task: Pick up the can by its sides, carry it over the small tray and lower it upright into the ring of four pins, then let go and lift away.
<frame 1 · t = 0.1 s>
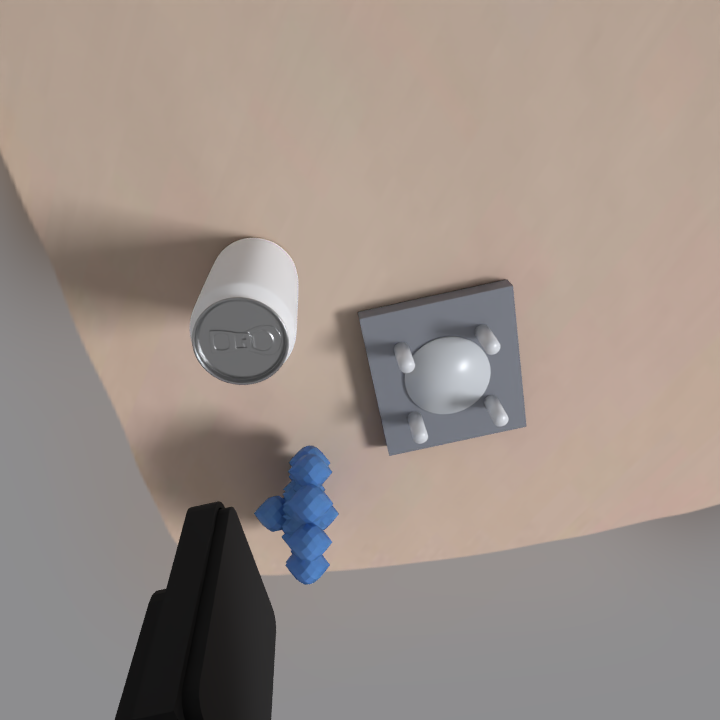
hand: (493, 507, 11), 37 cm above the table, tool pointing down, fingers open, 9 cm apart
grapes: (297, 467, 55), on the table
can: (255, 277, 47), on the table
pin tray: (443, 367, 51), on the table
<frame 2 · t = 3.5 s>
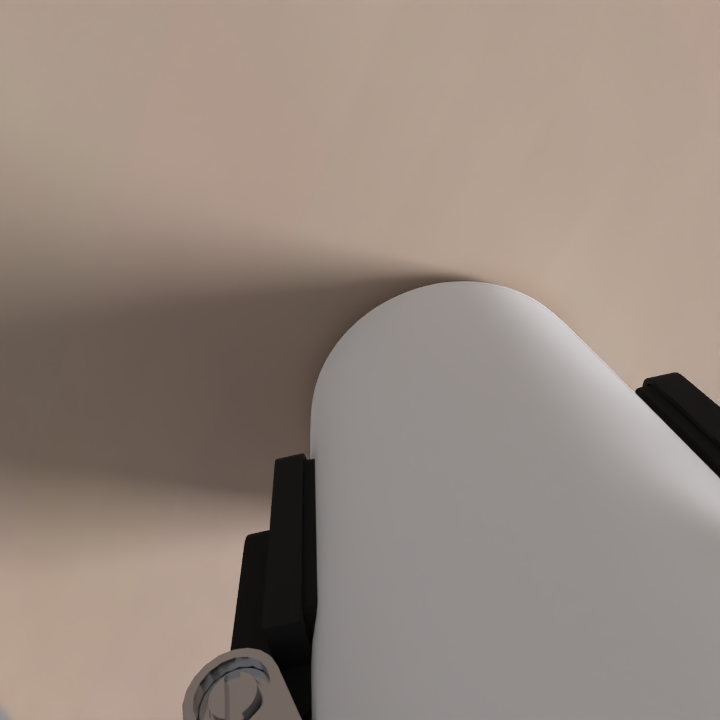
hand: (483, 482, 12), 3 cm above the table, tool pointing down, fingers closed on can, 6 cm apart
can: (445, 400, 15), on the table, touching gripper
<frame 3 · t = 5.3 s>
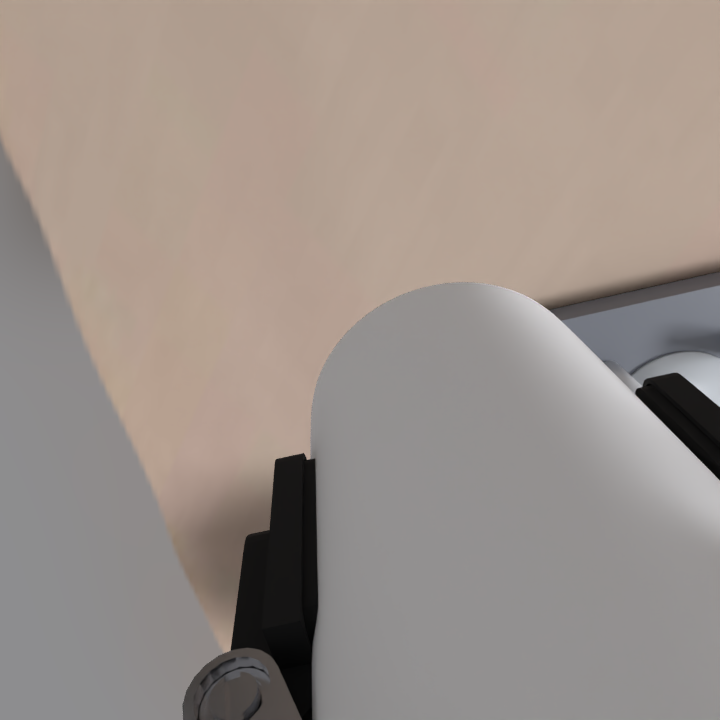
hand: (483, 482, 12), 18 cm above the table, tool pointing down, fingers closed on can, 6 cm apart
can: (445, 401, 15), point 15 cm above the table, touching gripper
pin tray: (657, 399, 33), on the table
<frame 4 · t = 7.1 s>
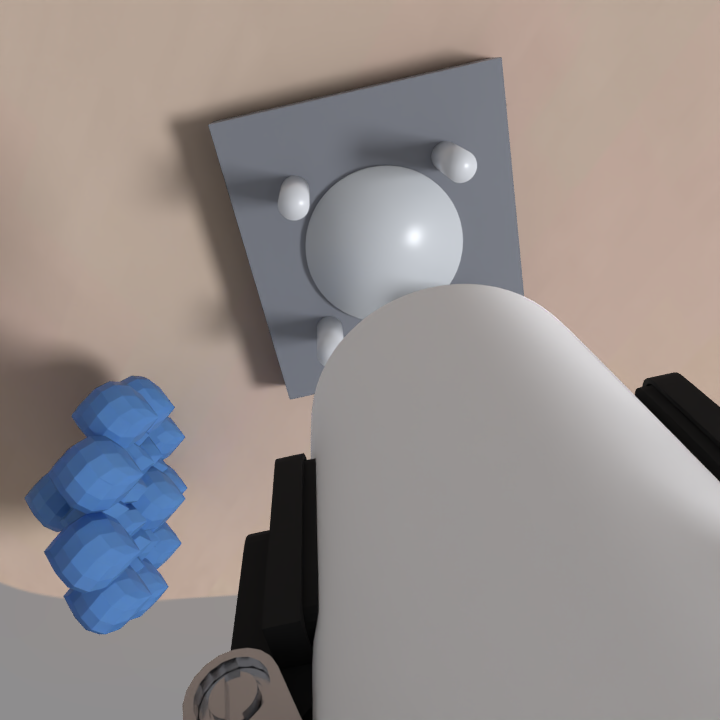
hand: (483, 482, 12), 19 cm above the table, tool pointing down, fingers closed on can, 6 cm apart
grapes: (140, 423, 32), on the table
can: (445, 402, 15), point 16 cm above the table, touching gripper
pin tray: (380, 238, 29), on the table
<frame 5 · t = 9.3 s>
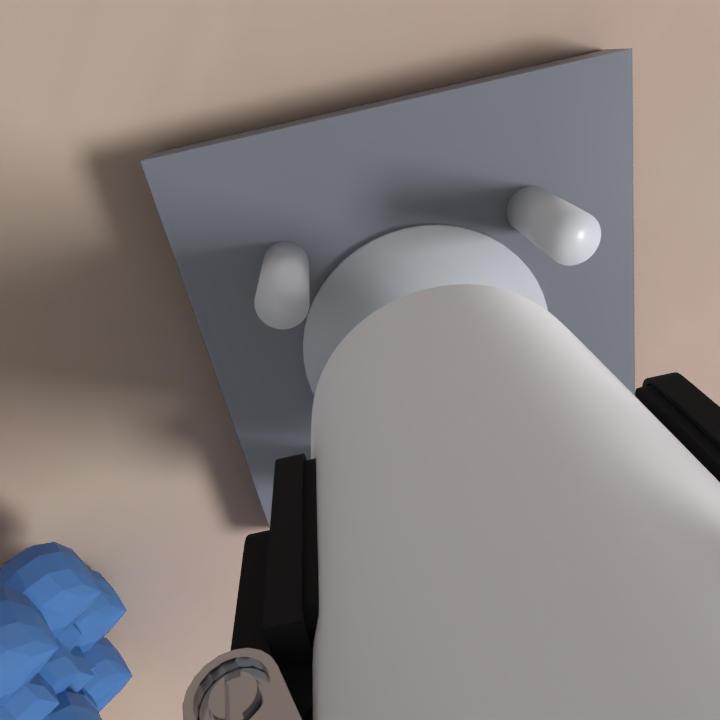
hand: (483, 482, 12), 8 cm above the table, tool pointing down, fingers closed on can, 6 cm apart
grapes: (65, 579, 22), on the table
can: (445, 403, 15), point 5 cm above the table, touching gripper
pin tray: (417, 326, 19), on the table
when the fingers open (6 cm above the table, at t = 11.1 s): can drops 1 cm, resting on pin tray.
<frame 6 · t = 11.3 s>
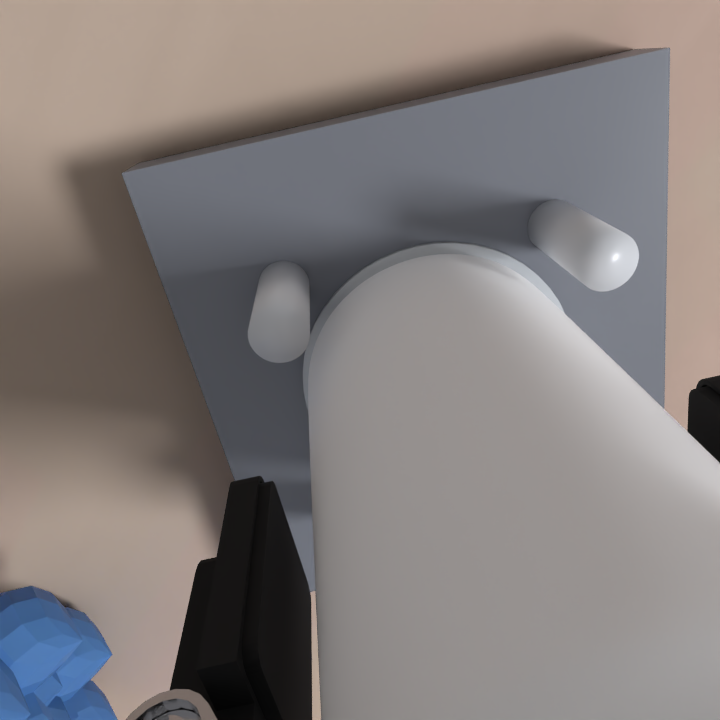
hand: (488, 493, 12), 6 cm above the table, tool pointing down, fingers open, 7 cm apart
grapes: (47, 617, 21), on the table
can: (432, 367, 16), point 2 cm above the table, touching pin tray
pin tray: (427, 350, 17), on the table
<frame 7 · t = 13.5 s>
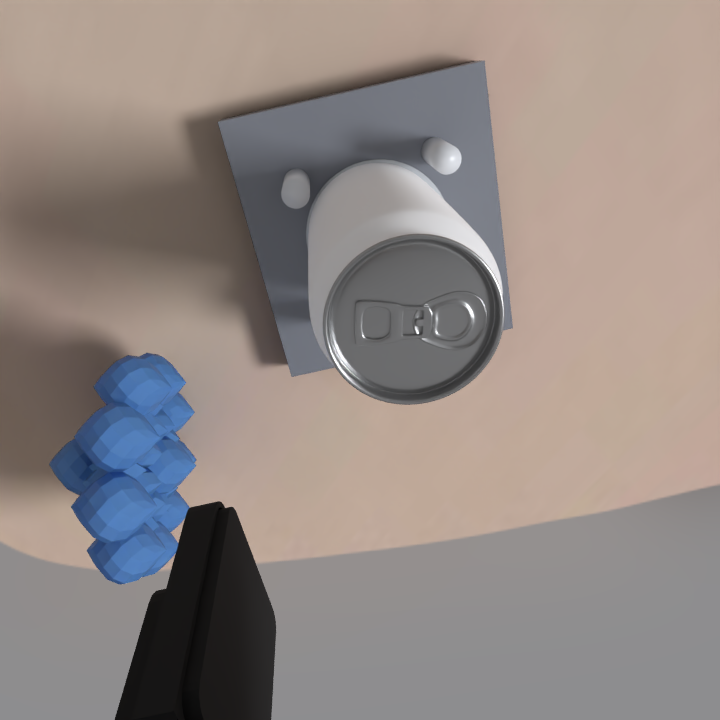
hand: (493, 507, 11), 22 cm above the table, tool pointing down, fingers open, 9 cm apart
grapes: (152, 400, 35), on the table
can: (375, 229, 30), point 2 cm above the table, touching pin tray
pin tray: (375, 227, 31), on the table
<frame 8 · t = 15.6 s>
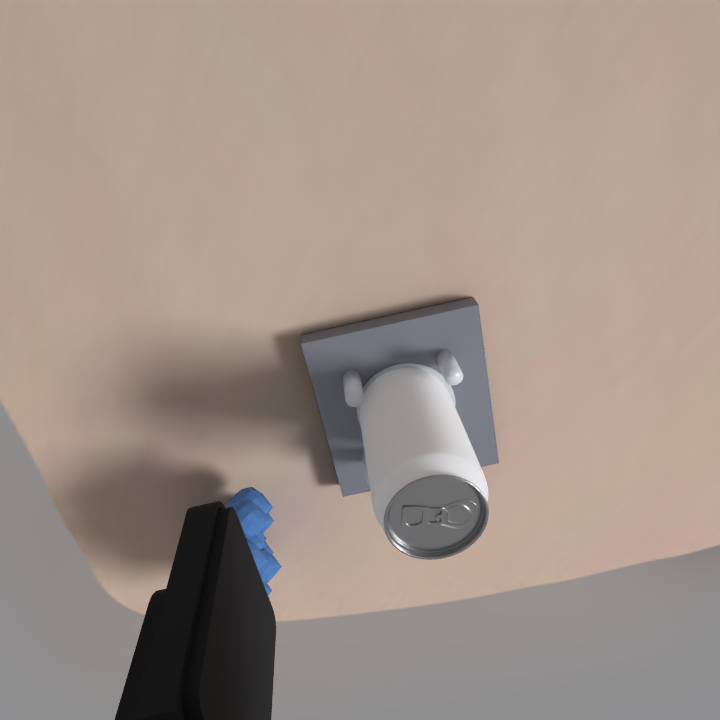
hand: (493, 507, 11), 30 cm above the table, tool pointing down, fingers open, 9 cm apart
grapes: (241, 508, 49), on the table
can: (403, 404, 44), point 2 cm above the table, touching pin tray
pin tray: (403, 396, 45), on the table
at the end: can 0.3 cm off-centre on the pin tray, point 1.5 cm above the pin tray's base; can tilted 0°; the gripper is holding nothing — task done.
